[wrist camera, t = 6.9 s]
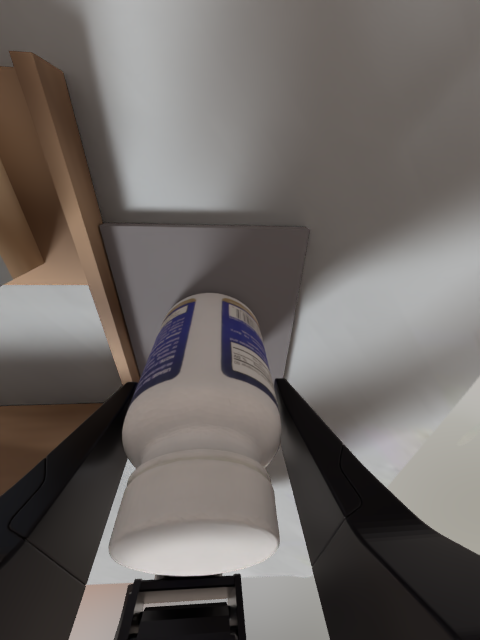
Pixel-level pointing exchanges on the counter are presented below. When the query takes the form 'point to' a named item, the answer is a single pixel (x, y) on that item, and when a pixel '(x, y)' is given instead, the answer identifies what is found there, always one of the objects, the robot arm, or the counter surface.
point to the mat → (207, 276)
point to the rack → (53, 241)
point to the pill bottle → (200, 446)
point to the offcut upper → (4, 273)
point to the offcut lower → (15, 232)
